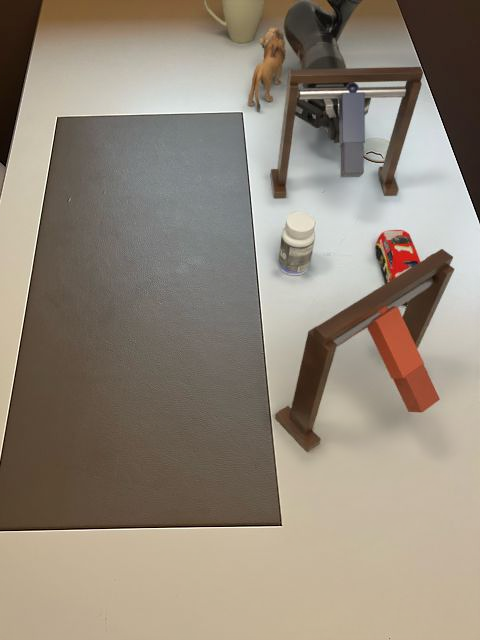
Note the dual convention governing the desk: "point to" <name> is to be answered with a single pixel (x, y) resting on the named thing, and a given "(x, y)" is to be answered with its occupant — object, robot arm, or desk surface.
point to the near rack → (321, 337)
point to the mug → (240, 18)
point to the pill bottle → (297, 244)
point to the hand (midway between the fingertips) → (340, 138)
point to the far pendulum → (352, 119)
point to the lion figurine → (268, 64)
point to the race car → (395, 253)
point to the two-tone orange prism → (399, 351)
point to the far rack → (347, 76)
